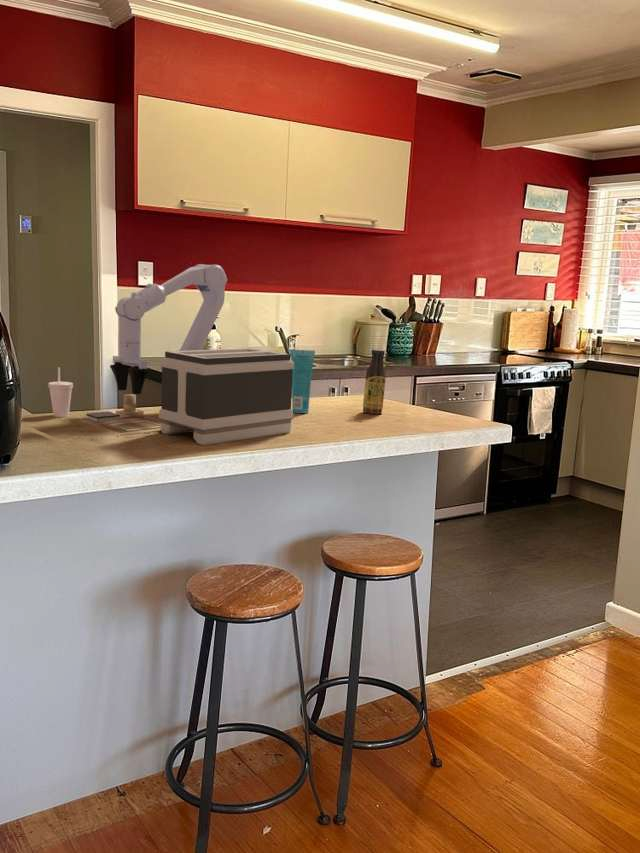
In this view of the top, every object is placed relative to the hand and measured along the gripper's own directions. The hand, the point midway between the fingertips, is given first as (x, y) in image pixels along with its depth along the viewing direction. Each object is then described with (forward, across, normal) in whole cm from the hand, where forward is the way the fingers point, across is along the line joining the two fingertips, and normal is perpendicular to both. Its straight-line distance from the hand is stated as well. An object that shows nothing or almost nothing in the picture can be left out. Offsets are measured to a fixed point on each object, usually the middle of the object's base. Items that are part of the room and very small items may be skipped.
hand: (129, 392), depth 214 cm
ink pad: (+7, 0, -8) cm, 10 cm away
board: (+8, +6, -4) cm, 11 cm away
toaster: (+8, +28, +14) cm, 32 cm away
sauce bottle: (+8, +27, +70) cm, 75 cm away
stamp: (+7, 0, 0) cm, 7 cm away
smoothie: (+8, -10, -15) cm, 20 cm away
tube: (+8, +15, +50) cm, 53 cm away
